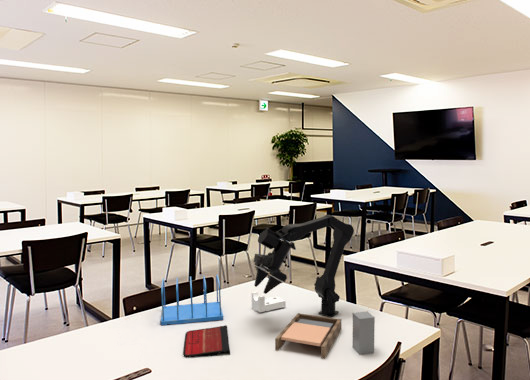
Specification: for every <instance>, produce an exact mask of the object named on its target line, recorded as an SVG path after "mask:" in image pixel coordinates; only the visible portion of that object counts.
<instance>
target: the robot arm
mask: <svg viewBox="0 0 530 380" xmlns="http://www.w3.org/2000/svg"><path fill="white" fill-rule="evenodd" d="M326 227H329V228H330V229H331V230H332V231H333V232H332V236H333V243H332V247H331V249H330V252H329V254H328V258H327V262H326V265H325V267H324V271H323V273H322V275H320V276H316V278H315V283H314V284H313V285H314V291H315V293H316V294H317V296H318V298H321V303H320V304H321V306H320V307H321V309H320V311H318V315H322V316H324V317H328V318H334V316H335V315H337V314H339V313H340V312H339V311H338V310H336V302H337V303H338V302H339V301H340V298H341V297H340V295H339V294H338V293H337V292H336V291H335V290H336V274H337V271H338V268H339V265H340V263H341V259H342V257H343V253H344V249H345V247H346V245H347V244H348V243H349V242H350V241H351V239H352V237H353V235H354V232H355V228H354V226H353V225H351V224H350V223H346V222H343V221H342V220H340V219H338V218H336V217H335V216H334V215H330V214H326V215H324V216H320V217H318V218H315V219H312V220H308V221H306V222H302V223H289V224H285V225H284V226H283V227H282V228H281V229H279V230H277V231H275V232H274V230H272V229H271V228H269V227H266V228H265V229H264V230H263V231H262V232H261V233H259V235H258V238H257V243H258V244H260V245H262V246H263V247H265V248H267V249H269V250H272V251H271V252H268V253H267V254H262V253H254V257H253V263H254V265H255V266H254V268H255V270H256V275H255V281H254V287H255V288H257V287H258V286H260V284H261V283H262V282H263V281H264V280H265V279H266V278H268V280H267V282H266V285H265V287H264V289H263V294H265V295H266V294H267V293H269V292H270V291H272V290H274V288H277V286H280V285H281V284H283V283H286V281H287V279H288V276H287V274H286V273H284V272H282V270H281V269H280V268H281V267H282V265H283V264H286V260H285V259H286V257H288V256H287V255H288V254H289V252H290V250H291V249H292V250H295V251H296V250H297V249H296V245H295V242H297V241H298V240H300V239H302V238H303V237H304V236H305V235H307V234H309V233H312V232H316V231H318V230H321V229H324V228H326ZM289 241H291V242H289ZM267 276H268V277H267Z"/></svg>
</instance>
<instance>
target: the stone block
mask: <svg viewBox="0 0 530 380" xmlns="http://www.w3.org/2000/svg"><path fill="white" fill-rule="evenodd" d="M375 327H376V326H375V316H374V315H372V313H370V312H369V311H368V310H367V311H360V312H359V311H358V312H352V348H353V350H354V351H355V352H356V353H357V354H358V355H359V356H360V355H365V354H366V355H368V354H374V353H375Z"/></svg>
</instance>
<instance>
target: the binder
mask: <svg viewBox="0 0 530 380" xmlns="http://www.w3.org/2000/svg"><path fill="white" fill-rule="evenodd" d="M228 332H229V331H228V325H221V326H215V327H208V328H207V327H206V328H201V329H199V328H198V329H194V330H188V331H186V332H185V337H184V344H183V352H182V353H183V355H184V356H183V355H182V356H183V357H184V358H187V357H188V358H202V357H204V358H205V357H219V355H221V354H222V353H225V352H226V353H227V354H228V355H231V350H230V343H229V340H230V339H229V333H228Z"/></svg>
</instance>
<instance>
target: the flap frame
mask: <svg viewBox="0 0 530 380" xmlns="http://www.w3.org/2000/svg"><path fill="white" fill-rule="evenodd" d="M300 319H306V320H312V321H319V322H326V323H333V328H332V330H331V332H330V333H329V335H328V336H327V337H326V338H325V340H324V341H323V343H322V344H321V346H320V351H321V352H320V357H321V359H326V357H327V355H328V353H329V352H330V350H331V349H332V347H333V345H334V343H335V341H336V340H337V338H338V336H339V334H340V333H341V331H342V319H341V318H334V317H329V316H319V315H314V314H313V315H311V314H306V313H305V314H304V313H300V312H298V313H296V315H294V317H293V318H292V319H291V320H290V321H289V322H288V323H287V325H286V326H285V327H284V328H283V329H282V331H281V332H280V333H279V334H278V335H277V336H276V337H275V340H274V342H275V343H274V345H275V346H274V349H275V351H280V350H281V348H282V347H283V345H284V344H285V343H286V342H287V341H286V340H281V337H282V335H283V334H284V333H285V332H286V331H287V330H288V328H289V327H290V326H291V325H292V324H293V323H294V322H298V321H299V320H300Z"/></svg>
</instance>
